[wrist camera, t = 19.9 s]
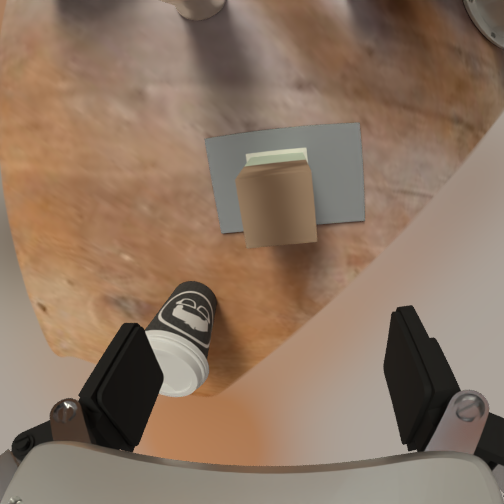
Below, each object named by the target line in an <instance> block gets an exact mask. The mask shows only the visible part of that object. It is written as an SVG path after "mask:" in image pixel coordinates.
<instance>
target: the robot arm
mask: <svg viewBox="0 0 504 504" xmlns="http://www.w3.org/2000/svg"><path fill="white" fill-rule="evenodd" d="M463 2H464V5H465V8H466V10H467V12H468V14H469V16H470V18H471V19H472V21H473V22H474V24H475V25H476V27H477V28H478V29H479V30H480V32H481V33H482V34H483V35H484V36H485V37H486V38H487V39H488V40H489V41H491V42H492V43H493V44H495V45H496V46H498V47H499V48H502V49H504V0H463ZM384 374H385V378H386V381H387V385H388V389H389V392H390V396H391V400H392V404H393V408H394V412H395V416H396V420H397V424H398V429H399V432H400V437H401V441H402V444H403V445H404V444H407V447H408V451H412V450H416V449H417V452H415V453H408V454H401V455H395V456H388V457H382V458H375V459H368V460H361V461H351V462H342V463H332V464H319V465H303V466H237V465H220V464H206V463H197V462H188V461H179V460H172V459H165V458H159V457H153V456H147V455H142V454H136V453H131V452H133V450H134V448H135V446H137V445H138V444H139V442H140V440H141V437H142V435H143V432H144V429H145V427H146V424H147V422H148V419H149V417H150V414H151V412H152V409H153V406H154V404H155V401H156V399H157V396H158V394H159V391H160V389H161V386H162V384H163V381H164V375H163V372H162V370H161V368H160V365H159V363H158V361H157V359H156V356H155V354H154V352H153V349H152V347H151V345H150V342H149V340H148V338H147V335H146V333H145V330H144V328H143V327H140V325H139V324H138V323H124V324H123V325H122V326H121V328H120V329H119V331H118V332H117V334H116V335H115V337H114V338H113V340H112V342H111V343H110V345H109V346H108V348H107V349H106V351H105V352H104V354H103V356H102V357H101V359H100V360H99V362H98V364H97V365H96V367H95V369H94V370H93V372H92V373H91V375H90V377H89V378H88V380H87V382H86V383H85V385H84V386H83V388H82V390H81V391H80V393H79V397H80V399H79V401H77V400H75V399H73V398H66V399H63V400H61V401H59V402H57V403H56V404H55V405H54V406H53V408H52V409H51V412H50V420H49V421H47V422H45V423H42V424H40V425H38V426H36V427H34V428H31V429H29V430H27V431H25V432H22V433H21V434H19V435H18V436H17V437H16V438H15V439H14V441H13V443H12V451H10V450H9V449H8V450H7V451H5V452H4V453H3V454H1V455H0V504H504V501H503V498H502V494H501V492H500V490H501V491H502V492H503V493H504V418H502V417H500V416H497V415H494V414H492V413H490V412H489V404H488V401H487V400H486V398H485V397H484V396H483V395H482V394H481V393H479V392H477V391H473V390H463V391H461V390H460V388H459V385H458V383H457V381H456V379H455V377H454V374H453V372H452V370H451V368H450V366H449V364H448V362H447V360H446V358H445V356H444V353H443V352H442V349H441V348H440V345H439V344H438V342H437V340H436V339H435V338H429V336H428V334H427V332H426V330H425V328H424V326H423V324H422V323H421V320H420V319H419V316H418V315H417V313H416V311H415V309H414V307H413V306H412V305H410V306H403V307H397V309H396V312H392V314H391V322H390V328H389V335H388V341H387V348H386V354H385V360H384ZM120 449H121V450H123V451H121V450H120ZM126 451H128V452H126ZM503 497H504V496H503Z"/></svg>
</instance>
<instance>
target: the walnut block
mask: <svg viewBox="0 0 504 504" xmlns="http://www.w3.org/2000/svg"><path fill="white" fill-rule="evenodd" d="M235 183H236V189H237V195H238V201H239V207H240V213H241V218H242V224H243V230H244V236H245V242H246V248H257V247H268V246H278V245H289V244H299V243H310V242H317V230H316V217H315V205H314V194H313V183H312V173H311V169H310V167H309V165H308V163H307V161H306V160H295V161H286V162H277V163H268V164H260V165H252V166H244V167H243V169H242V170H241V172H240V173H239V175H238V176H237V177H236V179H235Z"/></svg>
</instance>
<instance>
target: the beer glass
mask: <svg viewBox="0 0 504 504" xmlns="http://www.w3.org/2000/svg"><path fill="white" fill-rule="evenodd" d="M160 1H162V2H165V3H168V4H171V5H174V6H175V7H176V9H177V11H178V13H179V14H180V15H181V16H183V17H184V18H186V19H189V20H194V21H199V20H205V19H208V18H210V17H212V16H214V15H215V14H217V13H218V12H219V11H220V10H221V9H222V7H223V5H224V3H225V0H160Z"/></svg>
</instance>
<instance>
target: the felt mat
mask: <svg viewBox="0 0 504 504" xmlns="http://www.w3.org/2000/svg"><path fill="white" fill-rule="evenodd" d="M205 145H206V151H207V156H208V162H209V168H210V173H211V179H212V185H213V190H214V196H215V201H216V207H217V212H218V217H219V223H220V228H221V233H231V232H241V231H244V230H243V224H242V218H241V213H240V207H239V201H238V195H237V189H236V183H235V179H236V177H237V176H238V175H239V173H240V172H241V170H242V169H243V167H244V166H245V165H246V163H247V162H248V161H249V159H250V158H251V157H259V156H269V155H278V154H289V153H300V152H303V154H304V156H305V158H306V161H307V163H308V165H309V167H310V169H311V173H312V183H313V194H314V205H315V217H316V225H317V224H329V223H341V222H353V221H365V206H364V178H363V160H362V145H361V133H360V123H341V124H324V125H310V126H299V127H288V128H278V129H270V130H261V131H253V132H246V133H239V134H232V135H225V136H219V137H213V138H207V139H205Z"/></svg>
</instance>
